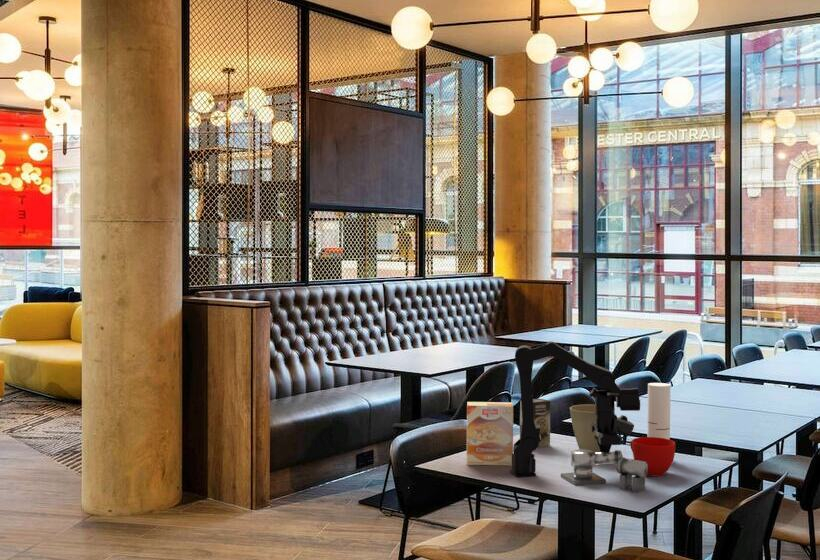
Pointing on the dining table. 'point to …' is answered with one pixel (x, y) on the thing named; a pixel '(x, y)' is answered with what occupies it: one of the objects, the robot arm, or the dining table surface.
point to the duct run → (632, 468)
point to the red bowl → (654, 453)
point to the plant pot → (584, 426)
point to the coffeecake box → (489, 433)
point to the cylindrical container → (658, 410)
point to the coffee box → (540, 419)
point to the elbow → (593, 458)
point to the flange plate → (582, 481)
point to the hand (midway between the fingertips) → (605, 460)
